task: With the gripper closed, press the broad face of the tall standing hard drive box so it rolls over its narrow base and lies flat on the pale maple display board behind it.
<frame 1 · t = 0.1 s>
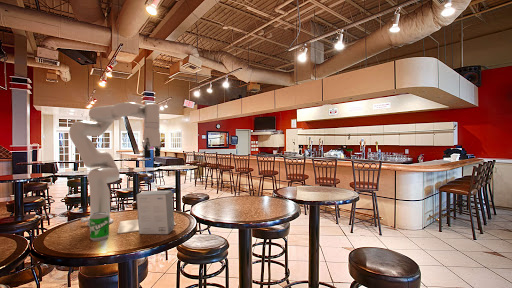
hand: (152, 157, 135), 37 cm above the table, tool pointing down, fingers open, 9 cm apart
soda can: (99, 239, 116), on the table
display board: (147, 223, 138), on the table
hard drive box: (157, 231, 124), on the table, touching display board
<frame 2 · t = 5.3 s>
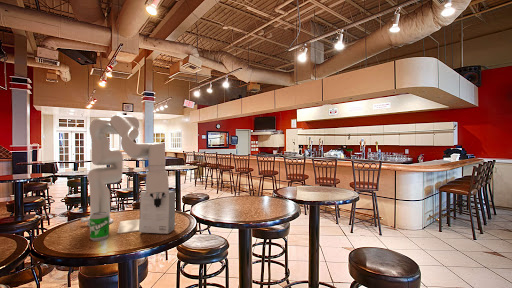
hand: (157, 206, 119), 14 cm above the table, tool pointing down, fingers closed
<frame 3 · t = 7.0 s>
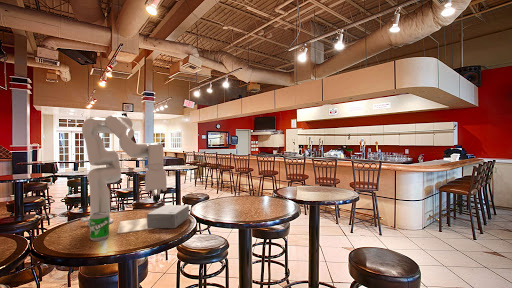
hand: (156, 202, 128), 14 cm above the table, tool pointing down, fingers closed
hard drive box: (160, 221, 128), point 4 cm above the table, touching display board
everything else where it was.
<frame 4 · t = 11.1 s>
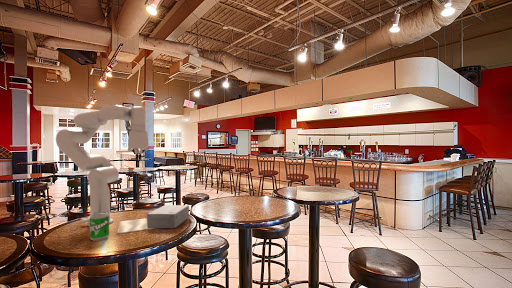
hand: (138, 161, 138), 35 cm above the table, tool pointing down, fingers closed
nothing on the table moved.
at the end: hard drive box tilted 90°; hard drive box touching display board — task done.
